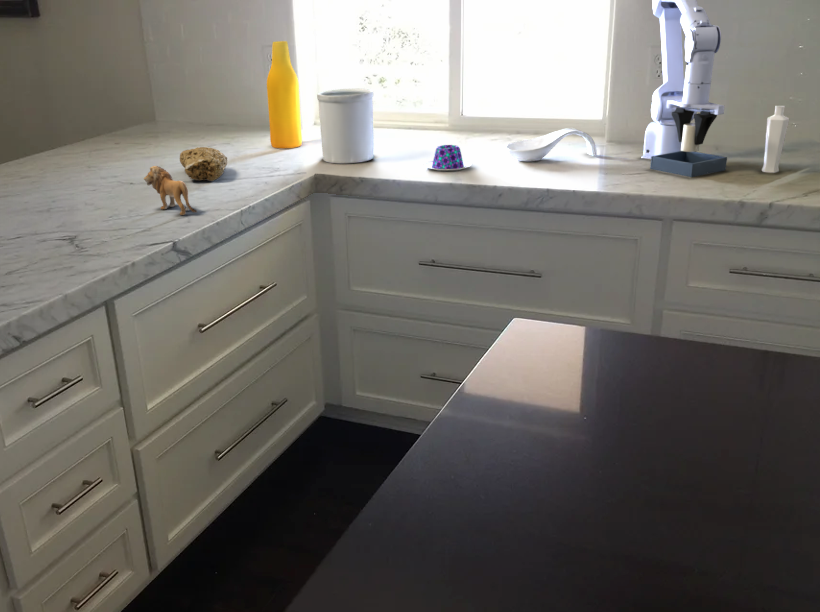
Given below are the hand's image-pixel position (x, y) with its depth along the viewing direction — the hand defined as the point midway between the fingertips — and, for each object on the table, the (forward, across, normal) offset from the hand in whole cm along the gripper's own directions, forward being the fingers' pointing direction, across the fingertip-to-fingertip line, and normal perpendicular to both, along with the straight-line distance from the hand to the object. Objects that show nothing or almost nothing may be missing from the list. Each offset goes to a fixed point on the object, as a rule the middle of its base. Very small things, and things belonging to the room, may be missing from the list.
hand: (690, 142), depth 203 cm
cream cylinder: (+2, 0, 0) cm, 2 cm away
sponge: (+7, -73, -94) cm, 119 cm away
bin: (+7, 0, 0) cm, 7 cm away
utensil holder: (+7, -67, -54) cm, 86 cm away
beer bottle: (+7, -96, -58) cm, 112 cm away
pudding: (+7, -40, -41) cm, 58 cm away
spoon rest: (+7, -32, -14) cm, 36 cm away
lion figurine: (+7, -43, -113) cm, 121 cm away
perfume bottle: (+7, +13, +13) cm, 20 cm away
